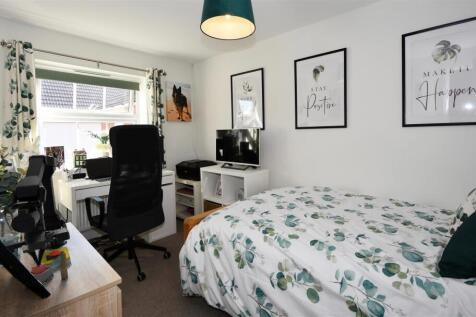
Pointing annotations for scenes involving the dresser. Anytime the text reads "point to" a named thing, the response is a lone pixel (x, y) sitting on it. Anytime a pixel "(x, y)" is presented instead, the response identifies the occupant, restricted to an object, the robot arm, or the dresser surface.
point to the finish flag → (61, 265)
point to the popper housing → (45, 275)
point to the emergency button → (53, 254)
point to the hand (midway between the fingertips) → (38, 264)
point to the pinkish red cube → (39, 269)
